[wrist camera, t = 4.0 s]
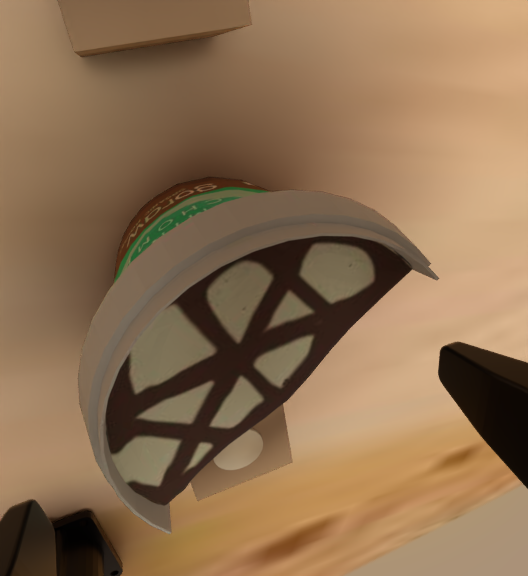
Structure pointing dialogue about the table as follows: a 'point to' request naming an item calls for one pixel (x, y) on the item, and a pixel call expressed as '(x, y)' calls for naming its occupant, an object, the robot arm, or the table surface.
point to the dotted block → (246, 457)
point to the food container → (222, 323)
